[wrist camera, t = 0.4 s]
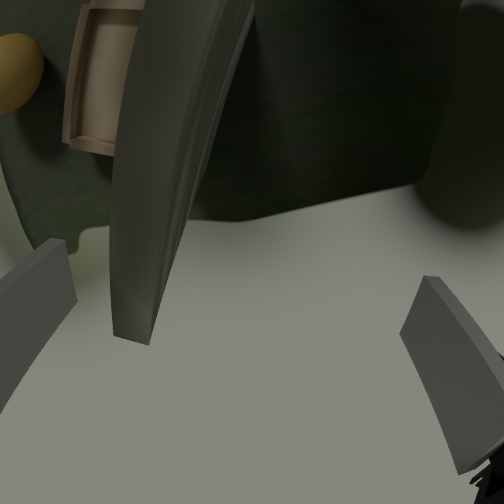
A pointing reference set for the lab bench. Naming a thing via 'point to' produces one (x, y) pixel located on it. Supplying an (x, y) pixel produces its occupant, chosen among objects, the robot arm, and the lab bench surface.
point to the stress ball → (18, 70)
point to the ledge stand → (150, 127)
